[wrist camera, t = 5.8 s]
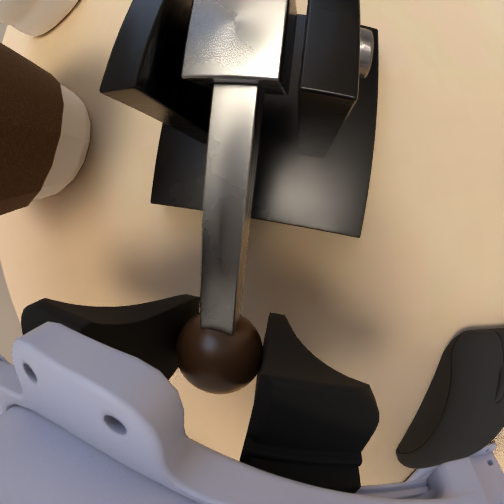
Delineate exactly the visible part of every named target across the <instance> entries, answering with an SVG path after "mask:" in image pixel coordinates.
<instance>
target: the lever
mask: <svg viewBox="0 0 504 504" xmlns="http://www.w3.org/2000/svg"><path fill="white" fill-rule="evenodd" d="M296 24H297V10H296V2H295V0H193V1H192V6H191V11H190V17H189V22H188V28H187V33H186V39H185V46H184V52H183V59H182V67H181V75H180V76H181V78H182V79H185V80H188V81H191V82H193V83H196V84H199V85H202V86H204V87H207V88H209V89H212V99H211V108H210V118H209V129H208V140H207V152H206V166H205V180H204V197H203V217H202V243H201V289H200V313H199V314H197V315H195V316H194V317H192V318H191V319H190V320H189V321H188V322H187V323H186V324H185V325H184V326H183V328H182V329H181V331H180V333H179V335H178V338H177V341H176V348H175V352H176V360H177V364H178V366H179V368H180V370H181V372H182V374H183V375H184V377H185V378H186V379H187V380H188V381H189V382H190V383H191V384H192V385H194V386H195V387H197V388H198V389H200V390H203V391H205V392H209V393H213V394H227V393H232V392H235V391H238V390H240V389H241V388H243V387H245V386H246V385H247V384H249V383H250V382H251V381H252V380H253V379H254V377H255V376H256V374H257V373H258V371H259V369H260V366H261V363H262V357H263V346H262V342H261V338H260V336H259V334H258V332H257V330H256V328H255V327H254V326H253V325H252V324H251V322H250V321H248V320H247V319H246V318H245V317H243V316H242V315H240V310H241V301H242V291H243V282H244V273H245V264H246V255H247V246H248V237H249V228H250V219H251V210H252V201H253V192H254V183H255V174H256V166H257V157H258V148H259V139H260V131H261V122H262V114H263V105H264V97H265V94H273V95H282V96H287V95H288V94H289V86H290V78H291V69H292V60H293V51H294V42H295V33H296Z"/></svg>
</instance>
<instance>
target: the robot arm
mask: <svg viewBox="0 0 504 504" xmlns="http://www.w3.org/2000/svg"><path fill="white" fill-rule="evenodd" d="M199 304H200V297H196V296H192V295H188V294H185V295H179V296H174V297H170V298H166V299H162V300H158V301H153V302H148V303H143V304H138V305H130V306H120V307H92V306H82V305H74V304H68V303H64V302H59V301H55V300H51V299H47V298H44V299H41V300H39V301H37V302H35V303H33V304H30V305H28V306H27V307H26V308H25V309H24V310H23V313H22V317H21V326H22V332H23V336H21V337H19V338H18V339H16V340H15V342H14V344H13V346H12V358H13V363H14V365H11V364H10V363H9V362H8V361H7V360H6V359H5V358H3V357H2V356H1V355H0V504H504V473H503V471H502V469H501V467H500V465H499V463H498V461H497V459H496V458H495V456H494V454H493V450H494V449H495V448H496V447H497V444H496V443H492V444H489V445H486V446H485V447H484V448H483V449H481V450H480V451H478V452H476V453H475V454H473V455H471V456H468V457H465V458H462V459H458V460H453V461H449V462H445V463H443V464H441V465H437V466H433V467H429V468H423V469H417V470H416V471H415V472H414V473H413V474H412V475H411V476H410V477H409V478H408V479H407V480H406V481H405V482H401V483H392V484H381V485H366V486H361V484H360V475H359V468H358V466H360V465H361V464H362V455H361V452H362V450H363V449H364V447H365V446H366V444H367V443H368V441H369V440H370V438H371V436H372V435H373V433H374V432H375V430H376V428H377V425H378V423H379V410H378V407H377V403H376V400H375V397H374V395H373V392H372V390H371V388H370V386H369V384H366V383H363V382H360V381H358V380H355V379H352V378H350V377H347V376H345V375H343V374H341V373H339V372H337V371H336V370H334V369H332V368H331V367H329V366H327V365H326V364H325V363H323V362H322V361H320V360H319V359H318V358H317V357H315V356H314V355H313V354H312V353H311V352H310V351H309V350H308V349H307V348H306V347H305V346H304V345H303V344H302V343H301V341H300V340H299V339H298V338H297V336H296V335H295V333H294V331H293V330H292V328H291V326H290V324H289V323H288V320H287V318H286V317H285V315H281V314H276V313H271V312H270V314H269V318H268V323H267V328H266V333H265V338H264V343H263V357H262V363H261V366H260V369H259V371H258V373H257V382H256V390H255V398H254V405H253V409H252V414H251V418H250V422H249V426H248V430H247V434H246V438H245V442H244V446H243V449H242V453H241V457H240V461H237V460H235V459H232V458H230V457H228V456H225V455H223V454H221V453H219V452H216V451H214V450H212V449H210V448H208V447H206V446H204V445H202V444H200V443H198V442H196V441H194V440H192V439H190V438H189V437H188V436H186V434H185V429H184V408H183V405H182V402H181V399H180V396H179V393H178V391H177V390H176V388H175V387H174V386H173V385H172V384H171V383H170V382H169V381H168V380H169V379H170V378H171V376H172V375H173V374H174V372H175V371H176V370H177V368H178V367H179V366H178V364H177V360H176V352H175V348H176V341H177V338H178V335H179V333H180V331H181V329H182V328H183V326H184V325H185V324H186V323H187V322H188V321H189V320H190V319H191V318H192V317H194V316H195V315H197V314H199Z"/></svg>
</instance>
